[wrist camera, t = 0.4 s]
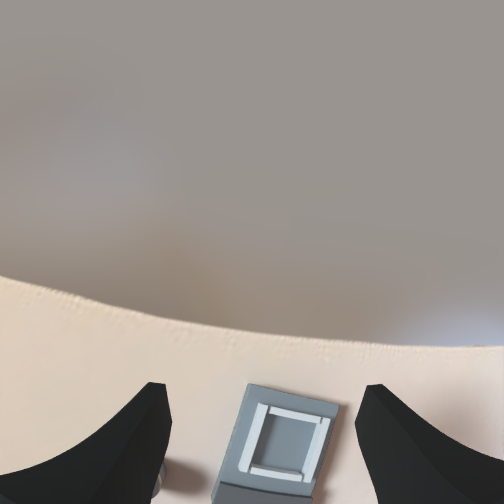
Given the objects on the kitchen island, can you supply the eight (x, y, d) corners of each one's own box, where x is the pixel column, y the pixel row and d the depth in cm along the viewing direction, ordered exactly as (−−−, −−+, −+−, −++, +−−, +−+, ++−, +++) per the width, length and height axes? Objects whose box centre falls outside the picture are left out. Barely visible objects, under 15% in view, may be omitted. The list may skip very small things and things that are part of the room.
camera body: (294, 510, 28) (305, 523, 24) (211, 495, 28) (212, 510, 24) (330, 403, 35) (345, 405, 31) (247, 383, 35) (253, 384, 30)
